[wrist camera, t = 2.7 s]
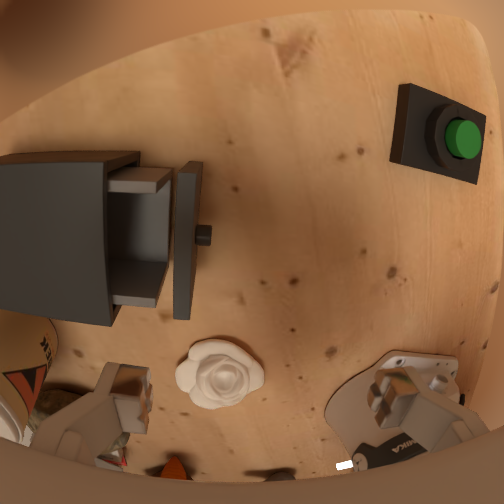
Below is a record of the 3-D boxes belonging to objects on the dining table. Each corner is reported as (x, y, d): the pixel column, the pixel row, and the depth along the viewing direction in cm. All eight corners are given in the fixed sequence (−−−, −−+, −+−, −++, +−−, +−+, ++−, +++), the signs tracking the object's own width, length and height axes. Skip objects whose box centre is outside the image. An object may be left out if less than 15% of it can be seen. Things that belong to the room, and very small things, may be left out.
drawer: (217, 162, 26) (216, 174, 19) (208, 275, 30) (206, 321, 23) (59, 158, 24) (13, 170, 17) (64, 264, 28) (28, 302, 21)
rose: (181, 424, 33) (164, 364, 29) (183, 398, 37) (169, 338, 33) (268, 419, 33) (267, 358, 30) (263, 393, 38) (262, 332, 34)
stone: (9, 441, 27) (-2, 393, 26) (34, 412, 36) (28, 367, 35) (124, 478, 29) (122, 432, 29) (135, 440, 38) (135, 396, 38)
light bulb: (248, 477, 41) (301, 468, 45) (234, 479, 44) (284, 471, 48) (254, 508, 37) (306, 496, 41) (239, 507, 41) (289, 497, 45)
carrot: (181, 466, 43) (180, 544, 29) (154, 457, 42) (147, 536, 28) (196, 455, 42) (196, 537, 28) (167, 444, 40) (161, 530, 26)
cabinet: (140, 150, 26) (103, 161, 17) (138, 272, 30) (111, 327, 21) (10, 154, 24) (-51, 169, 15) (18, 260, 28) (-30, 303, 19)
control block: (473, 114, 27) (497, 116, 23) (464, 181, 30) (487, 188, 26) (398, 84, 26) (420, 81, 22) (389, 161, 29) (410, 166, 25)
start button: (471, 125, 24) (483, 127, 22) (467, 159, 25) (478, 162, 24) (447, 115, 24) (458, 115, 22) (442, 151, 25) (453, 153, 23)
